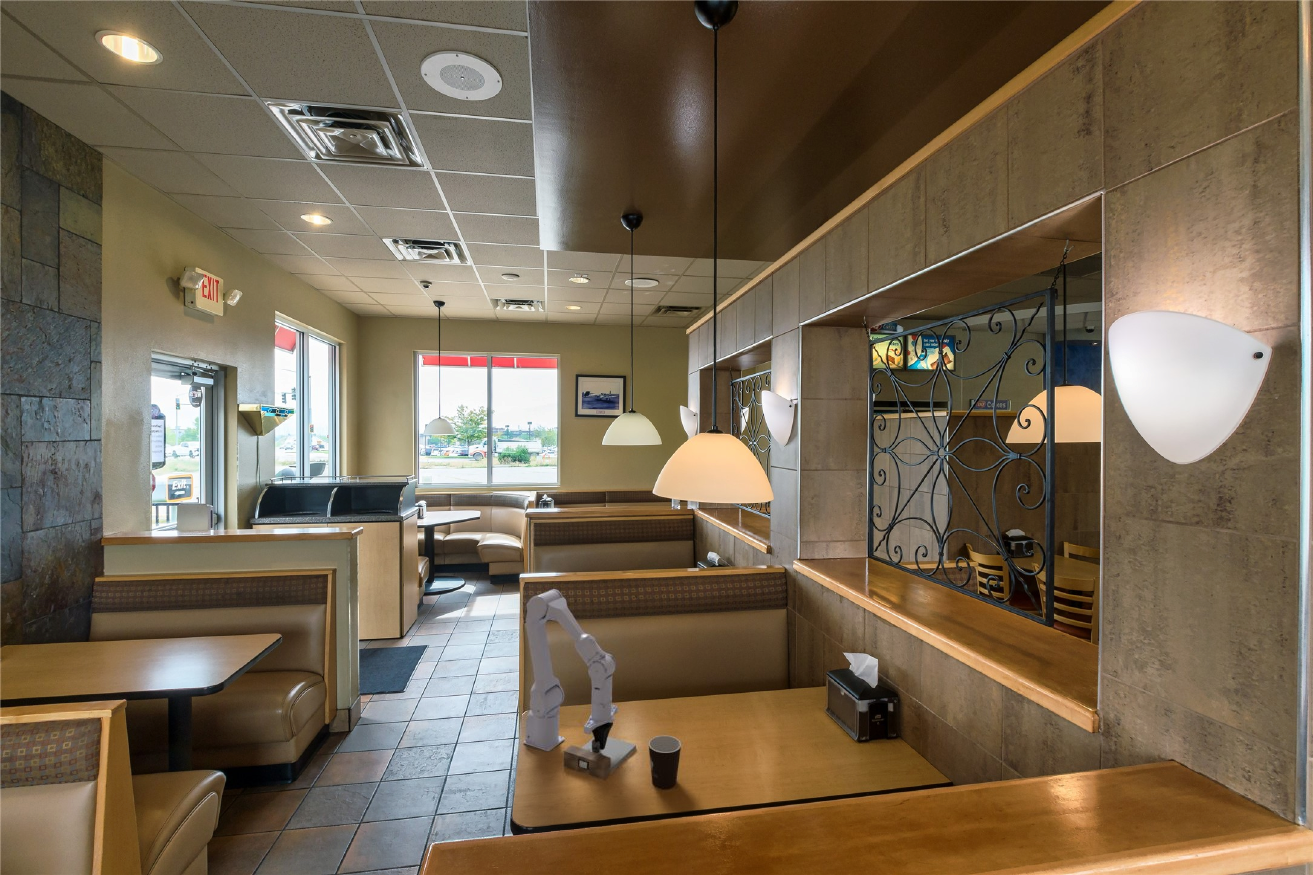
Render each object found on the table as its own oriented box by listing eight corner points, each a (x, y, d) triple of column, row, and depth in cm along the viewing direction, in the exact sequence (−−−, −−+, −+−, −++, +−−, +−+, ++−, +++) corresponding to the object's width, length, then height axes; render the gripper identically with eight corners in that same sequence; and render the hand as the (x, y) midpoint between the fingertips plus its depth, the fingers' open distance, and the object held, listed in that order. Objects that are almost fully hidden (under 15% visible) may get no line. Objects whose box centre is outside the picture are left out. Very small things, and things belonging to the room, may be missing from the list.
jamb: (563, 766, 153) (563, 750, 153) (571, 760, 156) (571, 744, 156) (603, 779, 147) (603, 763, 147) (610, 773, 150) (610, 757, 150)
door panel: (571, 760, 156) (571, 748, 156) (598, 737, 169) (598, 726, 169) (610, 773, 150) (610, 761, 150) (636, 748, 163) (636, 737, 163)
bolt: (579, 766, 151) (579, 749, 151) (594, 753, 157) (594, 737, 157) (586, 768, 149) (587, 752, 150) (601, 755, 156) (601, 740, 156)
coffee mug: (677, 794, 142) (678, 754, 142) (644, 789, 143) (645, 750, 143) (684, 768, 153) (685, 731, 153) (653, 764, 155) (654, 728, 155)
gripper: (599, 713, 150) (598, 764, 149) (626, 693, 163) (625, 740, 162) (577, 707, 153) (576, 757, 153) (606, 688, 166) (605, 734, 165)
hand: (600, 748), depth 158 cm, fingers closed
